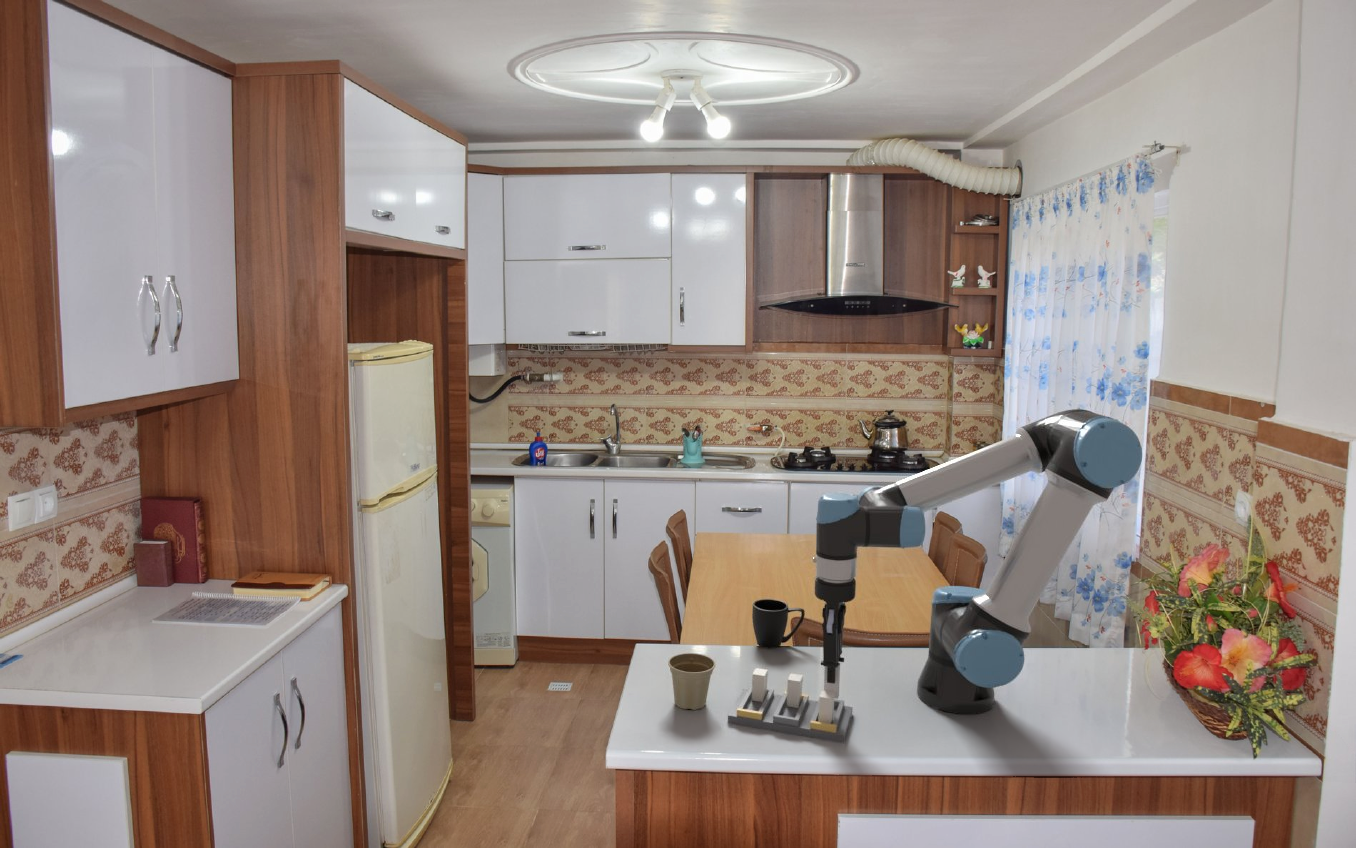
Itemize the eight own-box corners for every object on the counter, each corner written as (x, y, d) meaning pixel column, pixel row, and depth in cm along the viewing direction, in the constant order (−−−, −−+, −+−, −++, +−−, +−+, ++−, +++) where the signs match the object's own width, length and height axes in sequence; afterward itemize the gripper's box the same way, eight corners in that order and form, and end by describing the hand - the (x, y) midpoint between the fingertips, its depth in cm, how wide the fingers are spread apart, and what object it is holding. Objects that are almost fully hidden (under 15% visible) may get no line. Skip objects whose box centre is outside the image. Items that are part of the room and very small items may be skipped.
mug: (803, 653, 207) (805, 613, 205) (750, 649, 208) (752, 610, 206) (802, 639, 215) (804, 600, 213) (751, 636, 216) (752, 597, 214)
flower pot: (721, 699, 183) (722, 658, 181) (702, 718, 174) (704, 676, 173) (679, 689, 187) (680, 649, 185) (658, 708, 178) (659, 666, 177)
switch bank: (852, 714, 178) (852, 701, 177) (843, 743, 166) (844, 729, 166) (742, 696, 184) (743, 683, 184) (727, 722, 173) (728, 709, 172)
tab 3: (833, 719, 172) (834, 692, 171) (830, 726, 169) (832, 698, 168) (820, 717, 173) (822, 690, 172) (818, 724, 170) (819, 696, 169)
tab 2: (801, 701, 179) (802, 675, 178) (798, 708, 176) (800, 681, 175) (789, 699, 180) (790, 673, 179) (786, 706, 177) (787, 679, 176)
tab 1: (766, 695, 181) (767, 669, 180) (763, 702, 178) (764, 675, 177) (754, 693, 182) (756, 668, 181) (751, 700, 179) (752, 674, 178)
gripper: (820, 564, 176) (817, 679, 180) (809, 585, 164) (805, 708, 167) (859, 568, 174) (855, 684, 177) (851, 590, 161) (846, 714, 165)
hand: (831, 696), depth 172 cm, fingers closed
